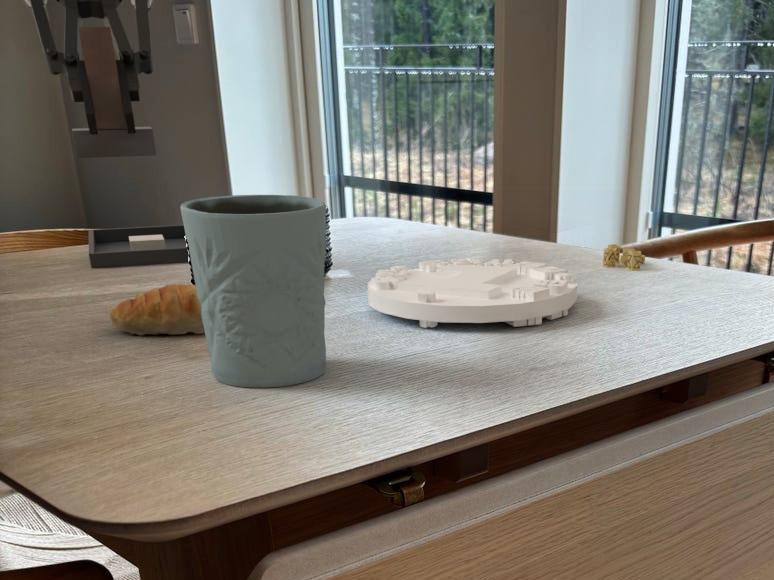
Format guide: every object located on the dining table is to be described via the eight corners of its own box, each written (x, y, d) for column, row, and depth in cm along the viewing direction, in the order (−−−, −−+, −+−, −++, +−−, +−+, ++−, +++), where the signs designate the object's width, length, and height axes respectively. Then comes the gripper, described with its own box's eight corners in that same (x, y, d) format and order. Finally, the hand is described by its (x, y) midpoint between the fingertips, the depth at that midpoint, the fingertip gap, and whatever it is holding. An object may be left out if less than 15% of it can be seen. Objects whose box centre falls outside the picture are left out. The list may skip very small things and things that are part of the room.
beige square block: (130, 249, 120) (128, 236, 119) (164, 247, 121) (162, 234, 120) (131, 254, 116) (129, 241, 116) (166, 252, 118) (164, 239, 117)
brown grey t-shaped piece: (76, 157, 101) (50, 26, 95) (77, 154, 104) (52, 27, 98) (156, 155, 103) (136, 26, 97) (155, 152, 106) (135, 27, 100)
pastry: (114, 341, 83) (105, 295, 82) (113, 324, 89) (104, 281, 87) (225, 332, 86) (219, 287, 84) (218, 316, 92) (212, 273, 90)
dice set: (637, 271, 110) (639, 253, 109) (595, 268, 112) (595, 250, 111) (651, 264, 114) (652, 246, 113) (609, 261, 116) (610, 243, 115)
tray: (92, 248, 125) (88, 229, 124) (197, 242, 129) (195, 224, 128) (92, 275, 109) (88, 253, 108) (213, 267, 113) (210, 246, 112)
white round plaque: (326, 308, 94) (323, 276, 93) (471, 279, 106) (471, 251, 105) (472, 344, 82) (472, 308, 80) (617, 307, 94) (619, 275, 92)
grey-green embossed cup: (252, 350, 81) (233, 191, 74) (362, 362, 77) (351, 196, 71) (177, 383, 72) (148, 208, 66) (296, 397, 69) (277, 214, 63)
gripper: (-13, -98, 98) (17, 96, 93) (153, -93, 102) (190, 93, 97) (5, -30, 105) (33, 153, 100) (159, -28, 110) (194, 148, 105)
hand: (111, 123), depth 99 cm, fingers closed on brown grey t-shaped piece, 3 cm apart
